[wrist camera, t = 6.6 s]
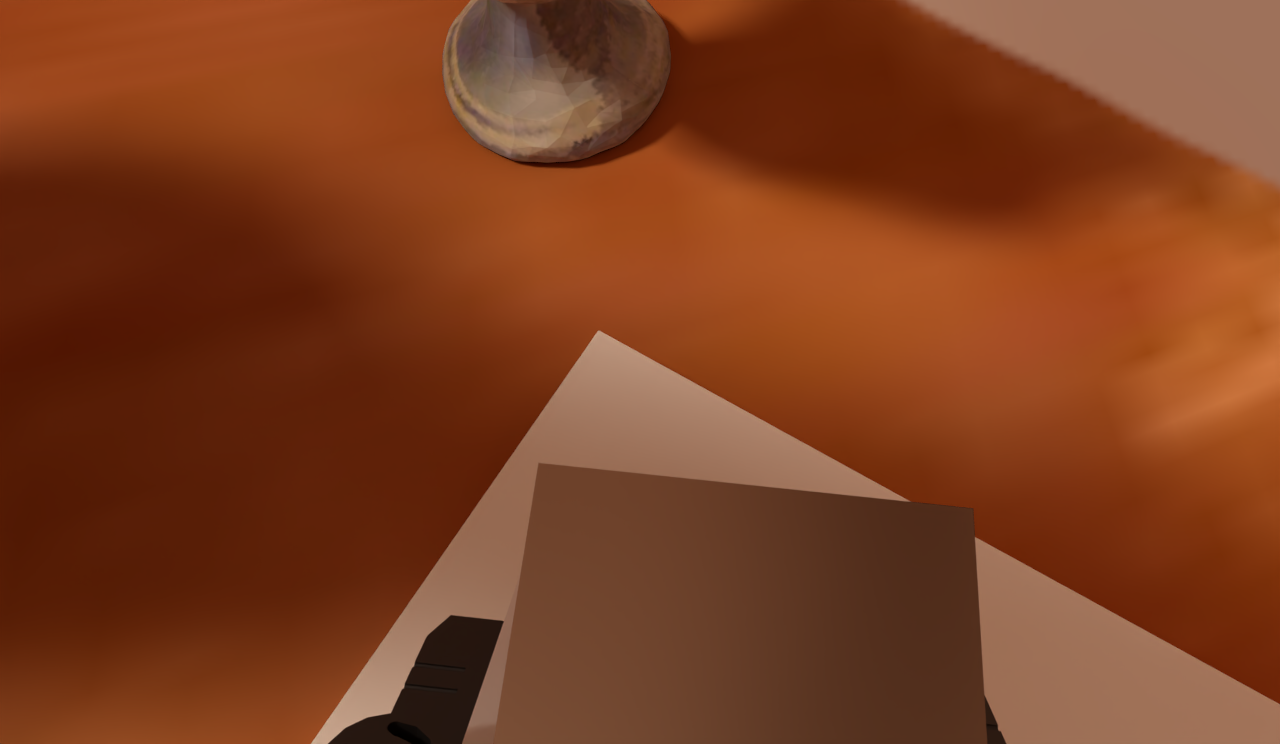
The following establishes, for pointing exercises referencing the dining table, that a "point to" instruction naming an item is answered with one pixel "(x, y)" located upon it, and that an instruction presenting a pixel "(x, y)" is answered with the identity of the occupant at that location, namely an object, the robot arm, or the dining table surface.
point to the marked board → (765, 456)
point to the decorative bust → (555, 74)
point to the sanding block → (740, 617)
